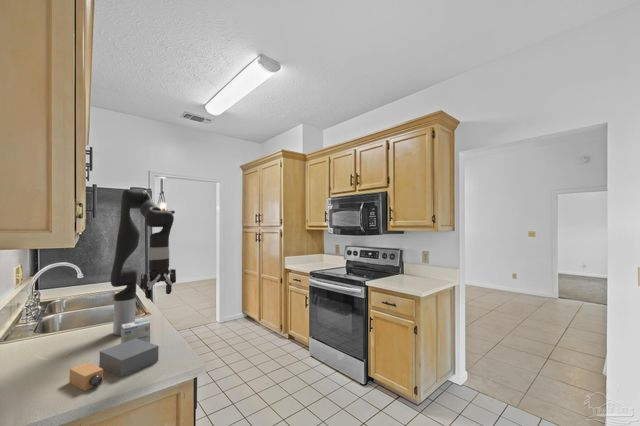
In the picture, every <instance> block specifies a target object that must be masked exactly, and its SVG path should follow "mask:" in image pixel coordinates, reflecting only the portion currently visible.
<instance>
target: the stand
mask: <svg viewBox="0 0 640 426" xmlns="http://www.w3.org/2000/svg"><path fill="white" fill-rule="evenodd" d="M159 347H160V346H159V345H157V344H154V343H151V342H150V343H149V342H146V341H143V340H140V339H137V338H136V339H133V340H130V341H127V342H125V343H122V344H121V343H120V344H119V343H118V344H117V345H114V346H111V347H107V348H105V349H102V350H99V364H98V365H99V366H98V367H100V368H102V369H103V370H106V371H108V372H109V373H113V374H115V375H116V376H119V377H121V378H122V377H124V376H126V375H129V374H131V373H133V372H136V371H138V370H141V369H142V368H145V367H146V366H149V365H151V364H152V365H153V364H154V363H156V362H158V361H159Z"/></svg>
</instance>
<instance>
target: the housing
mask: <svg viewBox="0 0 640 426" xmlns="http://www.w3.org/2000/svg"><path fill="white" fill-rule="evenodd" d="M69 383H70V384H72V386H74V387H77V388H78V389H80V390H82V391H84V392H85V391H88V390H90V389H92V388H95V387H97V386H100V384H104V368H102V367H99V366H97V365H95V364H93V363H91V362H89V361H87V362H84V363H82V364H80V365H77V366H73V367H70V368H69Z"/></svg>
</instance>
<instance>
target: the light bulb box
mask: <svg viewBox="0 0 640 426" xmlns="http://www.w3.org/2000/svg"><path fill="white" fill-rule="evenodd" d="M136 338H137V339H140V340H143V341H146V342H149V343H151V322H150V321H149V320H148V319H142V320H138V321H136V320H135V322H132V323H128V324H122V325H121V335H120V344H122V343H125V342H127V341H130V340H133V339H136Z"/></svg>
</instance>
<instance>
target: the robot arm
mask: <svg viewBox="0 0 640 426" xmlns="http://www.w3.org/2000/svg"><path fill="white" fill-rule="evenodd" d="M120 201H121V202H120V218H119V224H118V232H117V237H116V245H115V254H114V255H115V256H114V261H113V265H112V269H111V274H110V284H111V286H112V287H113V288H115V287H116V288H119V287H125V286H126V287H125V288H124V289H122V290H121V291H118V292H116V293H115V294H114V295H113V331H112V332H113V335H114V336H121V325H122V324H128V323H132V322H136V298H137V297H136V295H137V294H136V293H137V281H138V271H137V269H136V267H134V266H130V267H124V266H125V265H124V264H125V263H126V261H127V260H128V259H129V258H130V256H131V255H132V254H133V253H134V252H135V251H136V250H137V248H138V246H139V241H140V235H141V234H140V230H139V229H138V227H137V225H136V224H135V223H134V221H133V219H132V216H131V213H130V212H131V209H137V210H139V211H140V214H141V215H142V216H143V217H144V218H145V225H146V226H147V227H150V228H161V230H160V231H157V232H153V233H151V234H150V235H149V250H148V270H149V271H148V273H141V275H140V286H139V289H141V290H145V295H144V297H145V298H146V300H147V299H148V300H151V299H152V288H153V286H154V285H156V283H160V282H161V283H162V282H164V283H165V294H166V295H171V293H172V290H173V289H172V286H173V284H175V283H177V273H176V272H177V271H176V269H175V268H170V241H169V240H170V235H171V234H170V233H171V229H172V226H173V223H174V220H175V216H174V214H173V213H172V212H171V211H170V210H162V209H161V207H160V206H158V205H157V204H155V203H154V200H153V199H152V197H151V195H150V194H149V193H148V192H147V191H146V190H139V189H127V188H126V189H124V190H123V191H122V195H121V199H120ZM169 268H170V269H169Z"/></svg>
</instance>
